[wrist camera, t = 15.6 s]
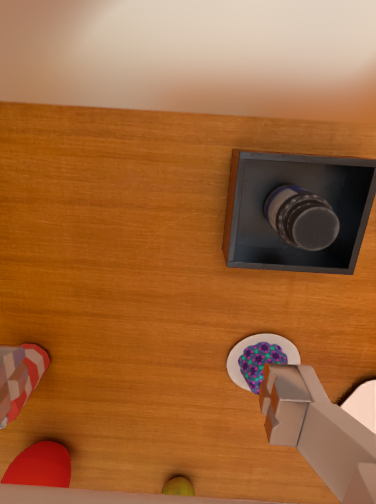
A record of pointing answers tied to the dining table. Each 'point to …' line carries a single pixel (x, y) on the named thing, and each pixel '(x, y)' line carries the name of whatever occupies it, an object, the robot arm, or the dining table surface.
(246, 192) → the open box
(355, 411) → the plate
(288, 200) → the pill bottle
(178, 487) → the fruit
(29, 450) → the tomato
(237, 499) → the robot arm
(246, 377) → the pudding
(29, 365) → the beverage can
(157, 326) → the dining table surface
